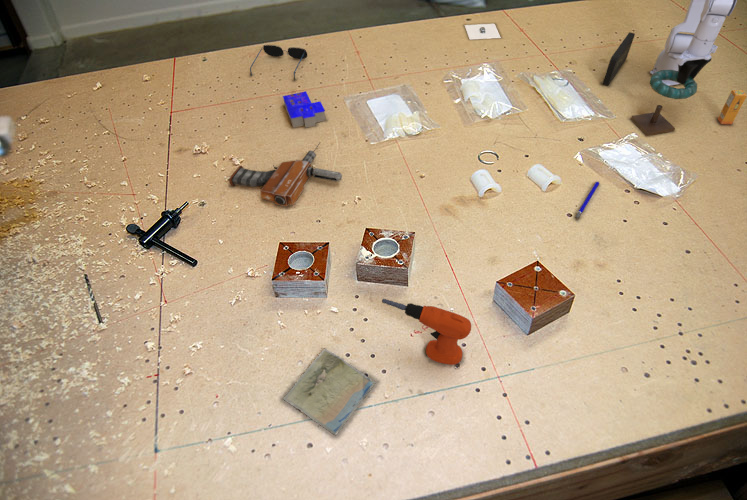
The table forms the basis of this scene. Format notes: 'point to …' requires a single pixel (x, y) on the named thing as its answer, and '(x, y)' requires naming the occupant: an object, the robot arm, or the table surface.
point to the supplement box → (732, 106)
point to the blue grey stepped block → (303, 110)
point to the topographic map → (329, 391)
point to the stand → (652, 122)
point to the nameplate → (618, 58)
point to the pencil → (587, 200)
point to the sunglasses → (278, 52)
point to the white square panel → (482, 31)
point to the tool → (283, 179)
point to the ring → (671, 91)
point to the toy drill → (439, 330)
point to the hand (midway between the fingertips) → (684, 80)
